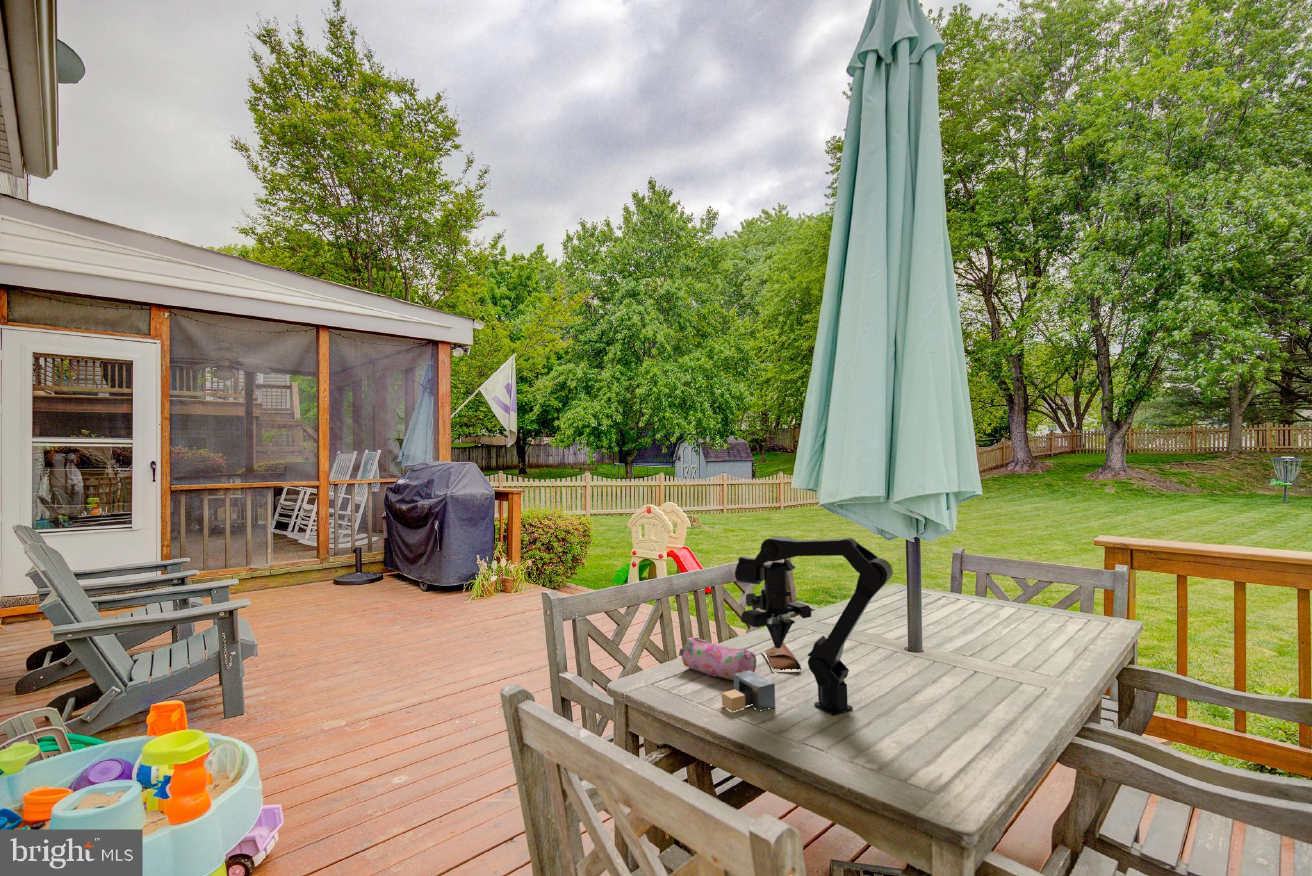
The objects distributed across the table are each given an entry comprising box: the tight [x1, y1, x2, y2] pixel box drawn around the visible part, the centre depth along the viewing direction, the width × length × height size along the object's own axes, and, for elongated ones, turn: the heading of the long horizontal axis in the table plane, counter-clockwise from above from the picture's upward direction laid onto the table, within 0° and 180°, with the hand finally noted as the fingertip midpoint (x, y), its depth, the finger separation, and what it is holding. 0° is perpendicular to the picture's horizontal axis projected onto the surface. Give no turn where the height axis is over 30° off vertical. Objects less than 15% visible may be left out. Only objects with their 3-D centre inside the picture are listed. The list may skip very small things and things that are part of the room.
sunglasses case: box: [765, 642, 802, 671], centre depth 165 cm, size 18×7×7 cm
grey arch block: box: [733, 670, 776, 712], centre depth 138 cm, size 10×5×6 cm, turn 27°
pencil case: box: [678, 637, 757, 681], centre depth 156 cm, size 21×9×9 cm, turn 47°
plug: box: [721, 688, 753, 712], centre depth 137 cm, size 4×13×4 cm, turn 119°
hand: (777, 648), depth 142 cm, fingers closed
